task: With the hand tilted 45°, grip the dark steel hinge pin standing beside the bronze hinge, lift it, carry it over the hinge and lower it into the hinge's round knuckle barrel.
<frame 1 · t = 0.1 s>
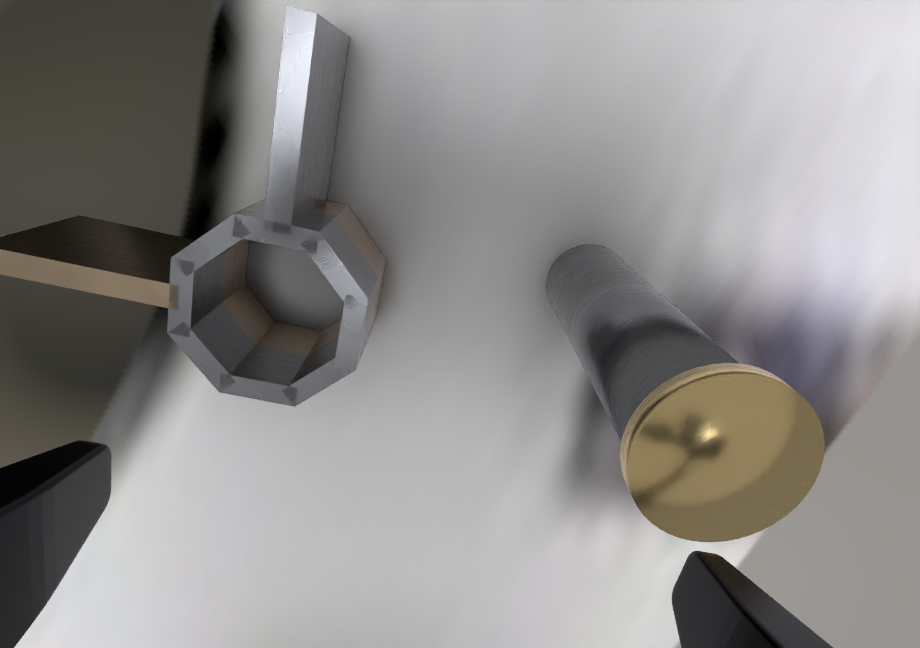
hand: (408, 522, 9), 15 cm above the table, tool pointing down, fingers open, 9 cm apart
bronze hinge: (305, 273, 22), on the table
hinge pin: (586, 283, 23), on the table
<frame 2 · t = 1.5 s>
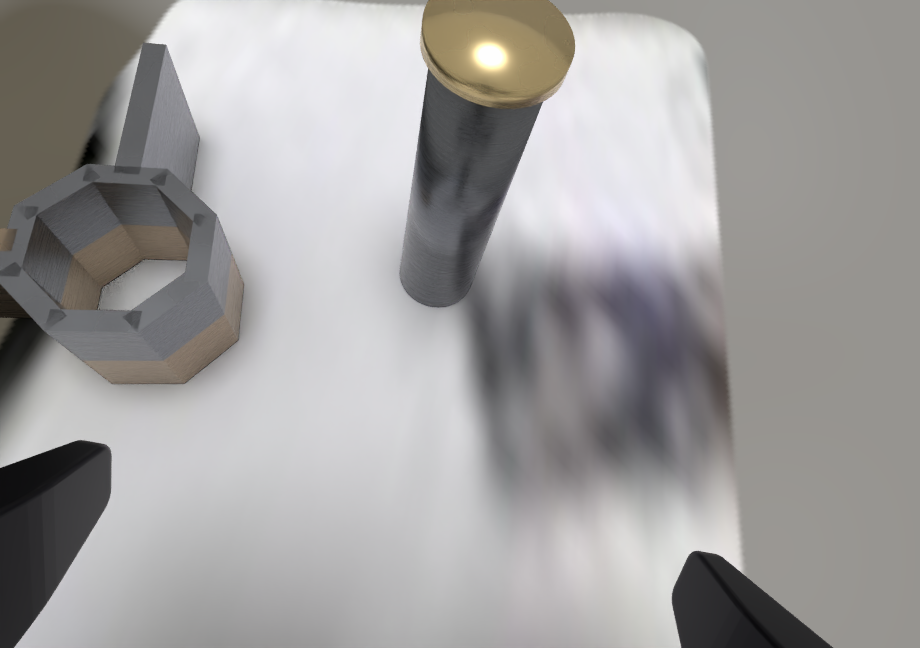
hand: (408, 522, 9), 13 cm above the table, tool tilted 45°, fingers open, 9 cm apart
bronze hinge: (160, 310, 22), on the table
hinge pin: (436, 274, 25), on the table
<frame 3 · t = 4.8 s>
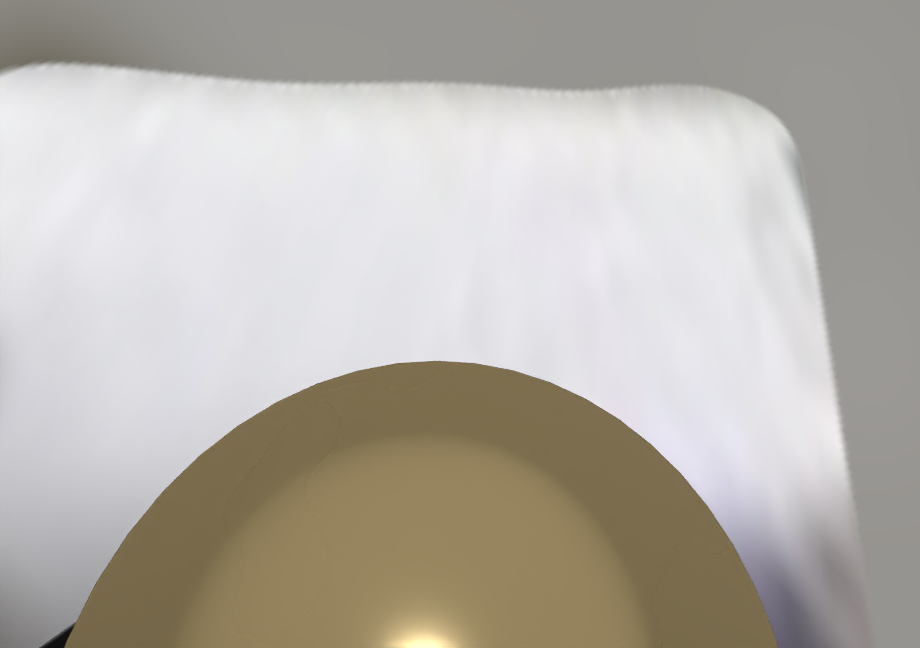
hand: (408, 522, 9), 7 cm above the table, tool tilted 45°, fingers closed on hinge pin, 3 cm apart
hinge pin: (376, 601, 14), on the table, touching gripper
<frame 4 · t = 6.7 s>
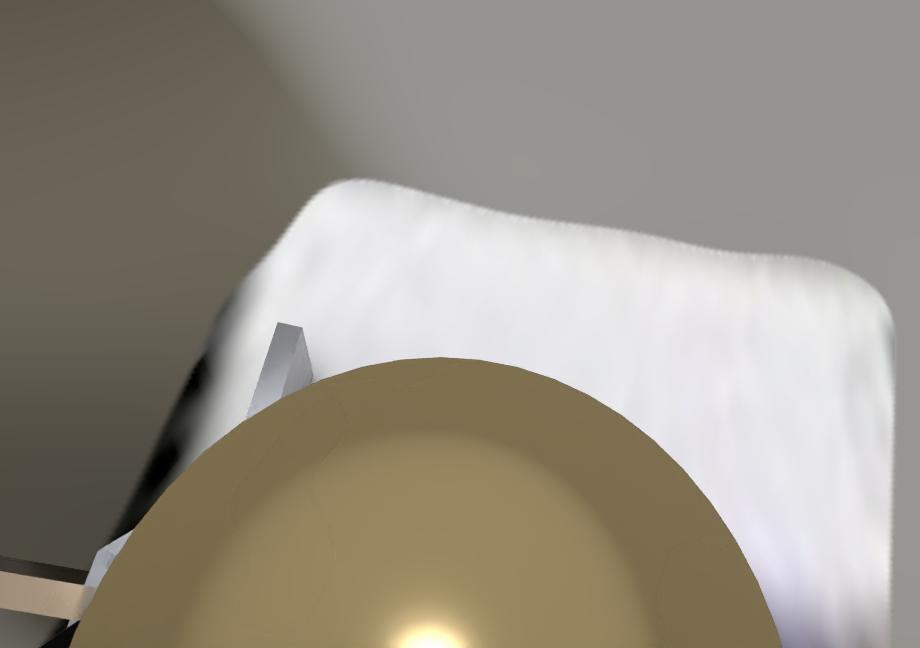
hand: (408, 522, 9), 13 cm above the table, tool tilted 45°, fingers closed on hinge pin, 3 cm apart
bronze hinge: (233, 609, 19), on the table
hinge pin: (377, 600, 14), point 7 cm above the table, touching gripper
when the fingers open (8 cm above the table, at t = 8.8 s): hinge pin drops 1 cm, resting in bronze hinge.
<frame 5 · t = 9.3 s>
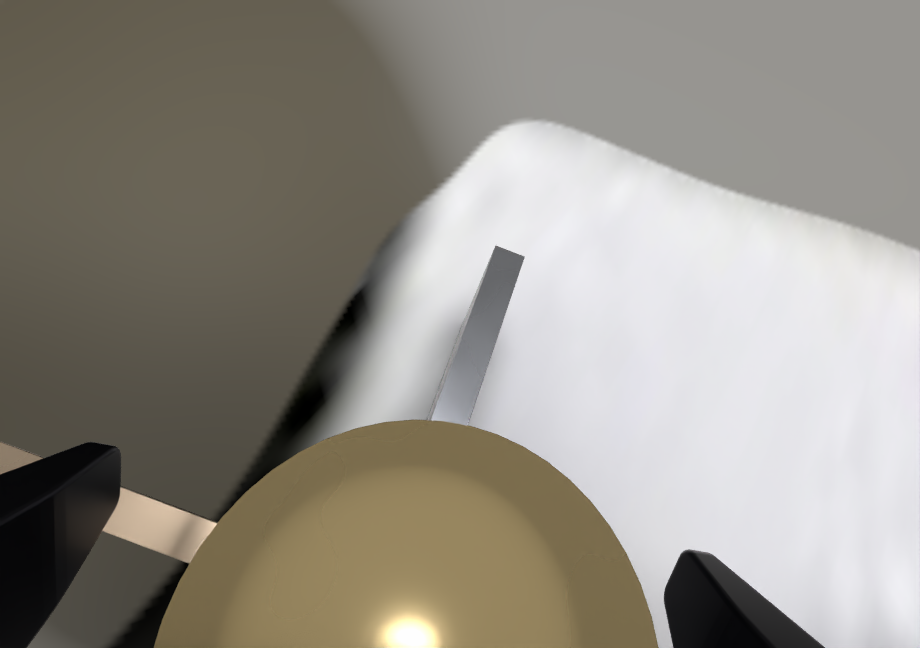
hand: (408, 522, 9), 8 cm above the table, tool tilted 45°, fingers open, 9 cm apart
bronze hinge: (375, 598, 15), on the table
hinge pin: (375, 598, 15), resting in bronze hinge
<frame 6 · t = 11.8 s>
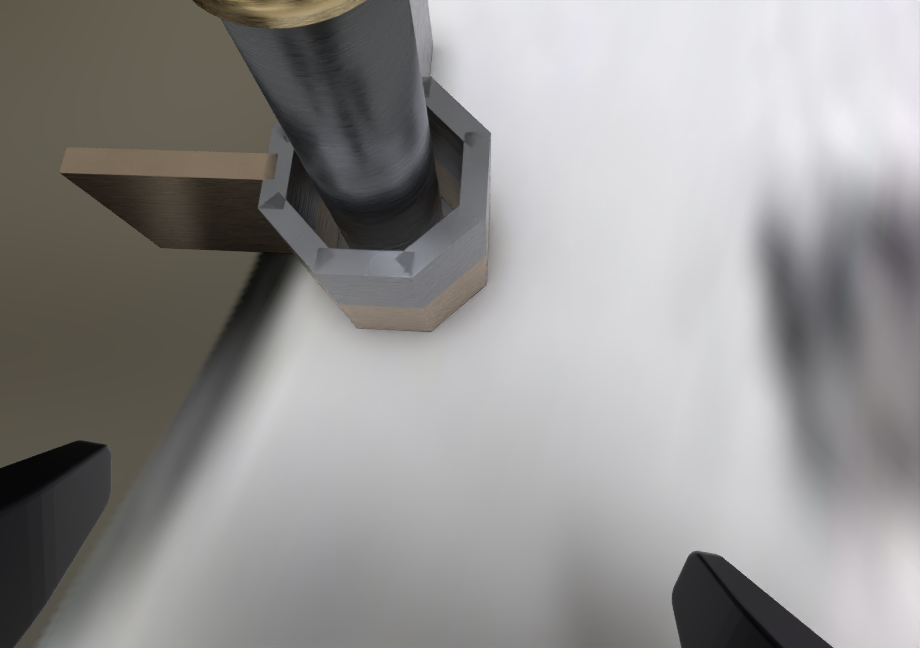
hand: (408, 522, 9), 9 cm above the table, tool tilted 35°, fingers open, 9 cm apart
bronze hinge: (402, 247, 20), on the table
hinge pin: (402, 247, 20), resting in bronze hinge
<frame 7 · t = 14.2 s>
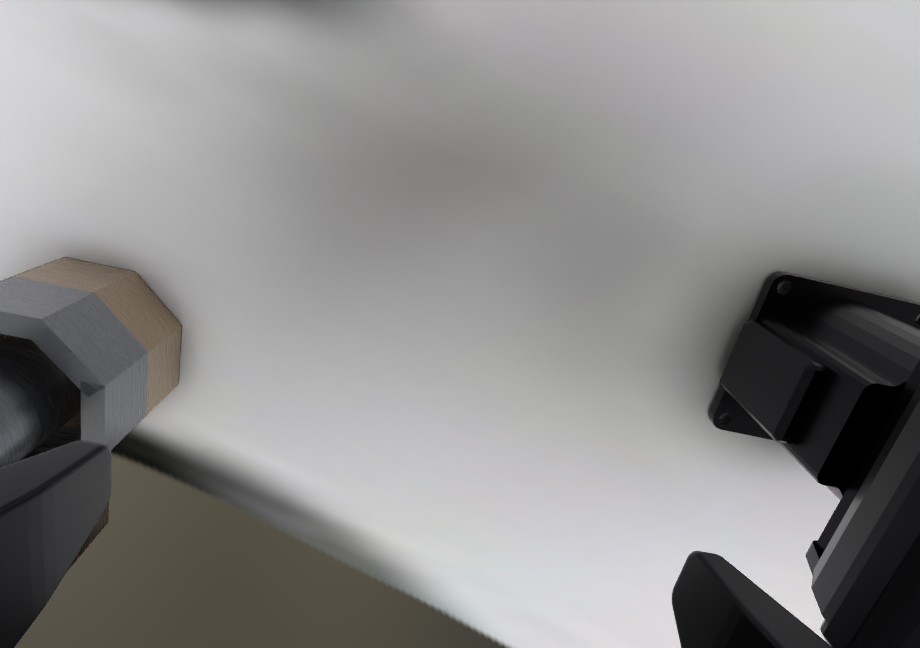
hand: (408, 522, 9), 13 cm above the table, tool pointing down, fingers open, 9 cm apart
bronze hinge: (99, 339, 22), on the table
hinge pin: (100, 339, 22), resting in bronze hinge
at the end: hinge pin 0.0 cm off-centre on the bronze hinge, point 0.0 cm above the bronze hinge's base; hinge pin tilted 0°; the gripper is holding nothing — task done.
